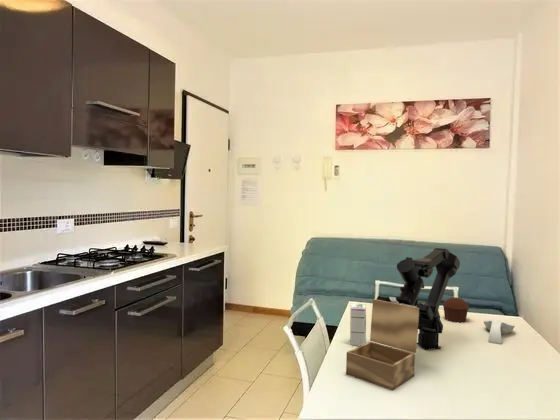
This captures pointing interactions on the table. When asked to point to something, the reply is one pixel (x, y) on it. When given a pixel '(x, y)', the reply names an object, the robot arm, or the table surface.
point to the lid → (394, 325)
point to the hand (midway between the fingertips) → (394, 328)
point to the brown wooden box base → (380, 365)
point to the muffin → (455, 310)
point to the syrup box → (357, 324)
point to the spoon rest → (497, 330)
